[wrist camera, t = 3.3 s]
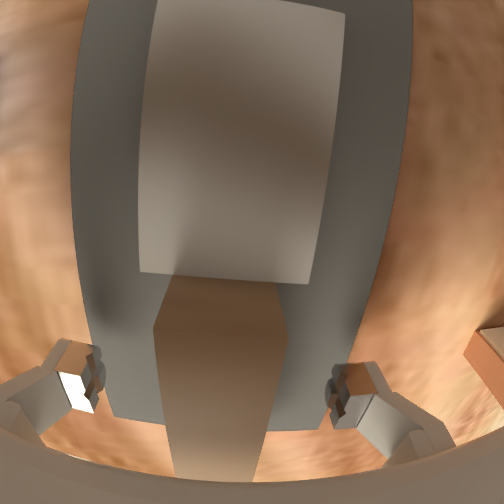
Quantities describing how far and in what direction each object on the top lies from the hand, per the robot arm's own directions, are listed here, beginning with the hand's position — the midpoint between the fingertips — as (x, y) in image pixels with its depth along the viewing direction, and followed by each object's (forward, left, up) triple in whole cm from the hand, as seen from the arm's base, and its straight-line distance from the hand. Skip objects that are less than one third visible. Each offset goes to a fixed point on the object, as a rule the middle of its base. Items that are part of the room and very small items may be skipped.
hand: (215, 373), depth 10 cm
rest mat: (-5, 0, -2) cm, 6 cm away
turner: (-3, 0, -1) cm, 3 cm away
